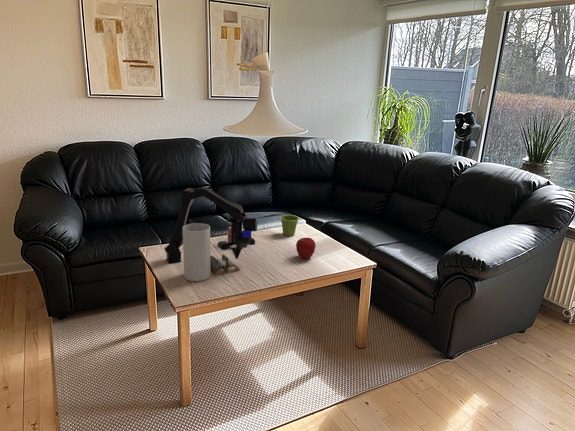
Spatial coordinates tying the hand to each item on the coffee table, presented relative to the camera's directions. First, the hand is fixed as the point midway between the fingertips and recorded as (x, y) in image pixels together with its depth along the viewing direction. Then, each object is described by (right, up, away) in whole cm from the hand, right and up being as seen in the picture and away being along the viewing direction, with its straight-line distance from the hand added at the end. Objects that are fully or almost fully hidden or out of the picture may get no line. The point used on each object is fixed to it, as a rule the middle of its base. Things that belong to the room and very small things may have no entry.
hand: (236, 258), depth 219 cm
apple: (+36, -1, +16) cm, 39 cm away
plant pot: (+27, +10, +51) cm, 58 cm away
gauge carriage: (-6, -4, -5) cm, 8 cm away
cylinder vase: (-17, -7, -13) cm, 23 cm away
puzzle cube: (-2, +5, +32) cm, 32 cm away
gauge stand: (-7, -5, -4) cm, 9 cm away
